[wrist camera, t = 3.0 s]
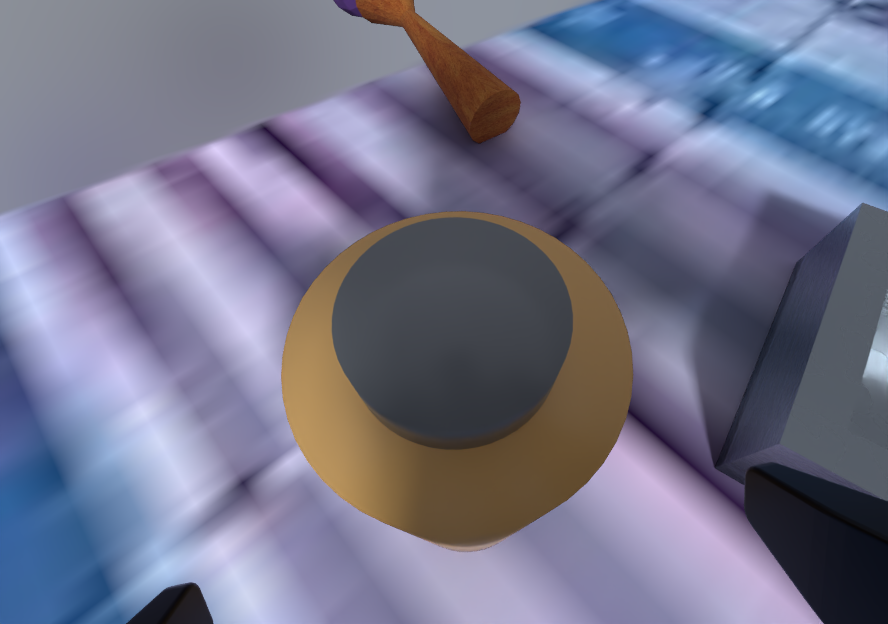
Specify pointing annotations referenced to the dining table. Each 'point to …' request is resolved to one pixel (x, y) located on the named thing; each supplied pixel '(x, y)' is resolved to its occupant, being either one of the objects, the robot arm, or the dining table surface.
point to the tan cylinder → (457, 376)
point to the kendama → (448, 68)
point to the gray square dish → (824, 367)
